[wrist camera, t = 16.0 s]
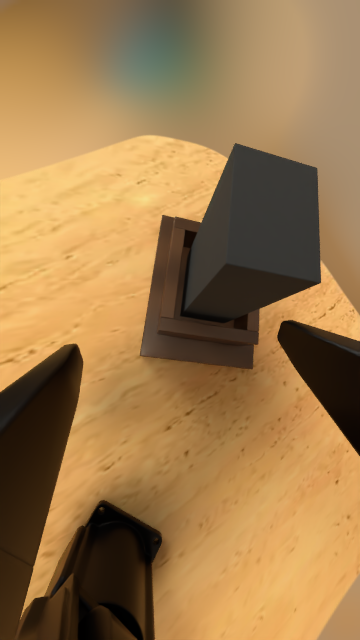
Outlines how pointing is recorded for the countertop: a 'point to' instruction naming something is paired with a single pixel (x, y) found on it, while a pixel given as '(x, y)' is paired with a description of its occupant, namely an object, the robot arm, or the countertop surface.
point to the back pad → (254, 238)
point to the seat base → (181, 332)
